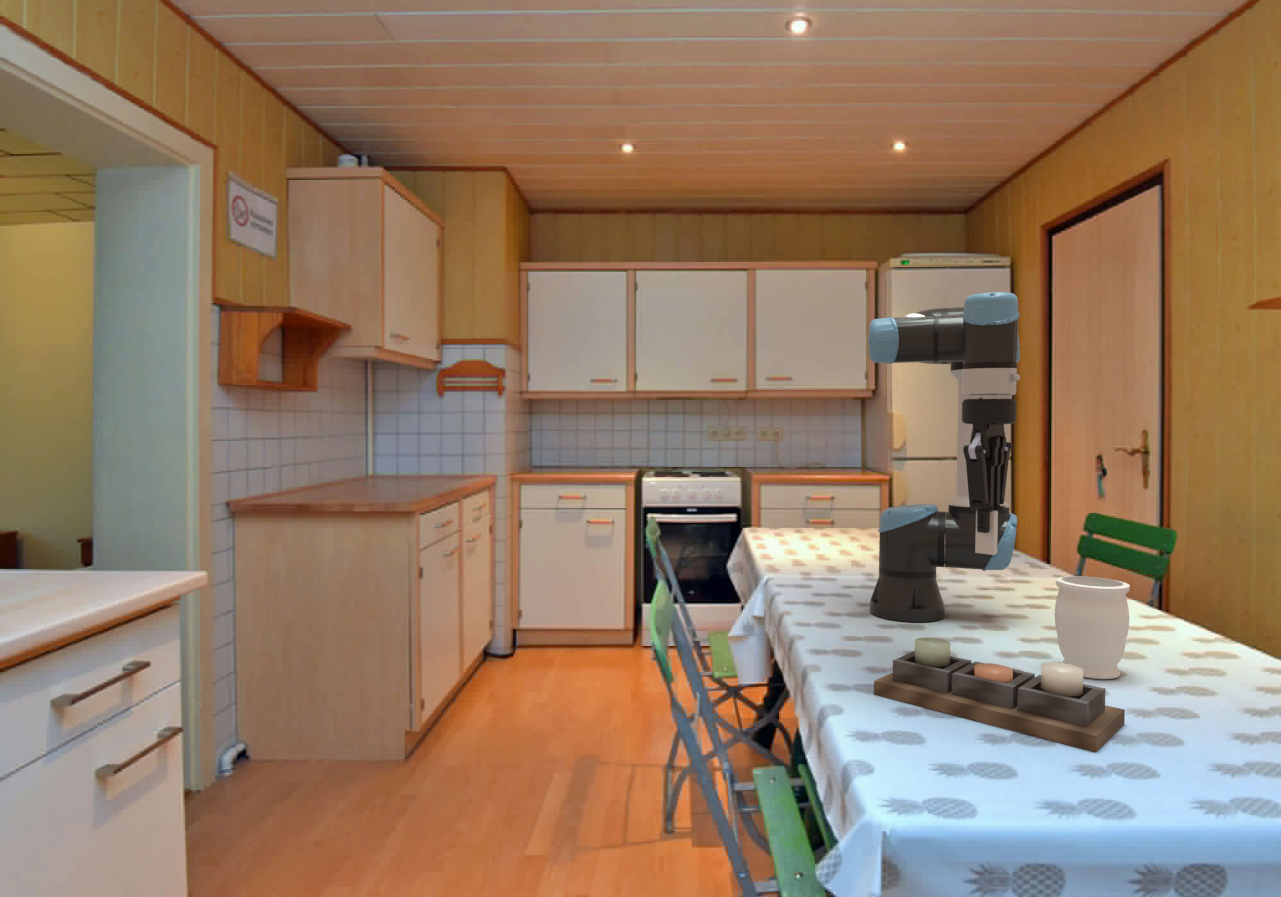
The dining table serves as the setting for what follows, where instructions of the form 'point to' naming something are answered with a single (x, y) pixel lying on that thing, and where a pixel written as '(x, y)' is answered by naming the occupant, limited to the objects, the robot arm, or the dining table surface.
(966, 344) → the robot arm
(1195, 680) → the dining table surface
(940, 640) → the button sage
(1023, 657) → the dining table surface
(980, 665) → the button terracotta
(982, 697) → the button board
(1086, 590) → the jar
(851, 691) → the dining table surface
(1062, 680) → the button cream
